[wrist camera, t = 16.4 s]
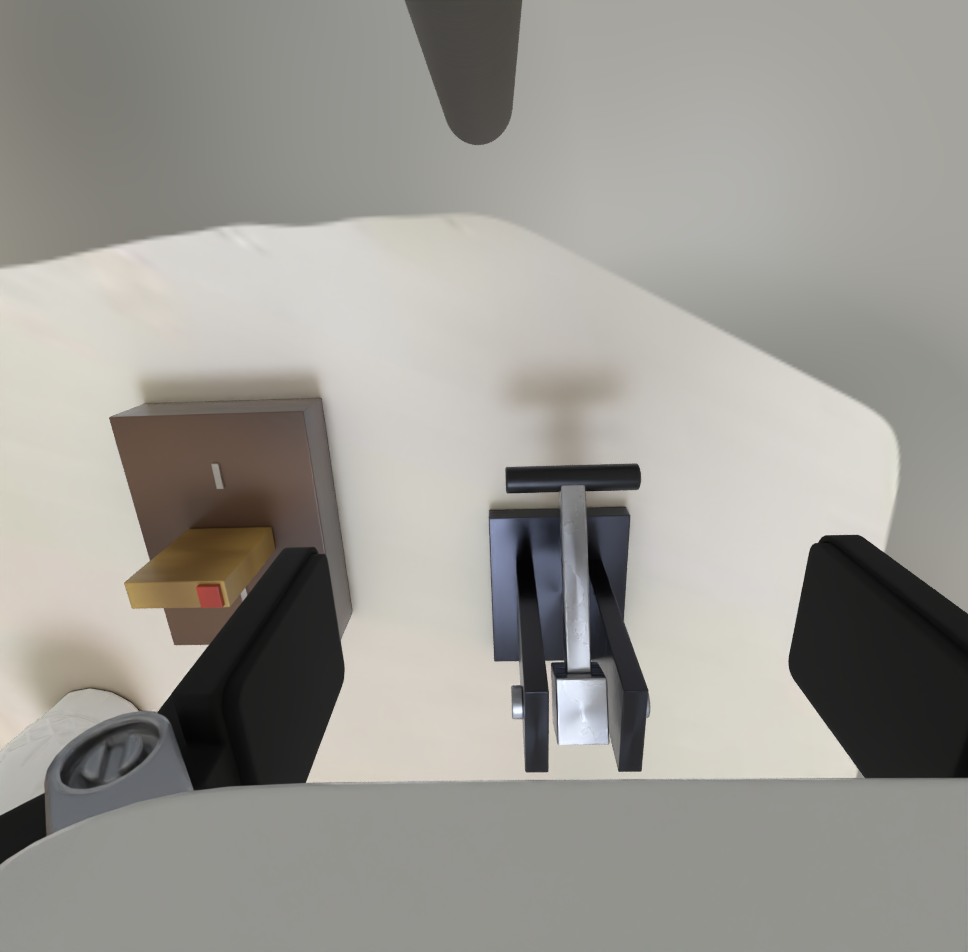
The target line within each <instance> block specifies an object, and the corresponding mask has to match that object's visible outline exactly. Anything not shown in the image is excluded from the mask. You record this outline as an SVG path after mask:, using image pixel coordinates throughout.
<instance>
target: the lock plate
mask: <svg viewBox="0 0 968 952" xmlns="http://www.w3.org/2000/svg"><path fill="white" fill-rule="evenodd" d="M109 419H110V423H111V426H112V430H113V433H114V437H115V440H116V444H117V447H118V451H119V454H120V458H121V461H122V465H123V468H124V472H125V475H126V478H127V482H128V485H129V489H130V492H131V496H132V499H133V503H134V506H135V510H136V513H137V517H138V520H139V524H140V527H141V531H142V534H143V538H144V541H145V545H146V548H147V552H148V555H149V558H150V561H151V560H152V559H153V558H154V557H155V556H157V555H158V554H159V553H160V552H161V551H163V550H164V549H165V548H166V547H167V546H169V545H170V544H171V543H172V542H173V541H175V540H176V539H177V538H178V537H179V536H181V535H182V534H183V533H184V532H185V531H187V530H188V529H206V528H253V527H271V528H272V533H273V538H274V544H275V551H274V552H273V553H272V555H271V556H270V557H269V558H268V560H267V561H266V562H265V564H264V565H263V566H262V567H261V569H260V570H259V571H258V572H257V574H256V575H255V576H254V577H253V579H252V580H251V581H250V582H249V584H248V585H247V586H246V587H245V589H244V590H243V591H242V592H241V594H240V595H239V596H238V597H237V599H236V600H235V601H234V602H233V604H232V605H231V606H230V607H222V608H201V607H198V608H164V611H165V614H166V618H167V621H168V625H169V628H170V632H171V635H172V638H173V642H174V645H209V644H210V643H211V642H212V641H213V639H214V638H215V637H216V635H217V634H218V633H219V632H220V630H221V629H222V628H223V626H224V625H225V624H226V622H227V621H228V620H229V619H230V617H231V616H232V615H233V613H234V612H235V611H236V609H237V608H238V607H239V606H240V604H241V603H242V602H243V600H244V599H245V598H246V597H247V595H248V594H249V593H250V591H251V590H252V589H253V587H254V586H255V585H256V584H257V582H258V581H259V580H260V578H261V577H262V576H263V574H264V573H265V572H266V571H267V569H268V568H269V567H270V565H271V564H272V563H273V561H274V560H275V559H276V558H277V556H278V555H279V554H280V552H281V551H282V550H283V549H284V548H288V547H315V548H316V549H317V551H318V553H319V554H325V555H326V556H327V559H328V564H329V570H330V577H331V583H332V590H333V596H334V602H335V609H336V615H337V621H338V628H339V634H340V640H341V638H342V636H343V633H344V631H345V629H346V626H347V624H348V622H349V619H350V617H351V615H352V608H351V601H350V594H349V587H348V580H347V573H346V566H345V560H344V553H343V546H342V539H341V532H340V525H339V518H338V511H337V504H336V497H335V490H334V484H333V477H332V470H331V463H330V456H329V449H328V442H327V435H326V428H325V421H324V415H323V408H322V401H321V398H309V399H278V400H247V401H216V402H185V403H154V404H143V405H140V406H137V407H135V408H132V409H130V410H127V411H124V412H122V413H119V414H116V415H114V416H111V417H109Z"/></svg>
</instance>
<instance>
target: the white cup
mask: <svg viewBox="0 0 968 952" xmlns="http://www.w3.org/2000/svg"><path fill="white" fill-rule="evenodd" d="M137 711H139V710H138V709H137V708H136V707H135V706H134V705H133V704H132V703H131V702H129V701H127V700H125V699H124V698H122V697H120V696H118V695H116V694H114V693H112V692H107V691H102V690H96V689H84V690H79V691H74V692H70V693H68V694H67V695H66V696H65V697H63V698H62V699H61V700H60V701H59V702H57V703H56V704H55V705H54V706H53V707H52V708H51V709H49V710H48V711H47V712H46V713H45V714H44V715H43V716H42V717H41V718H39V719H38V720H37V721H36V722H34V723H32V724H30V725H29V726H27V727H26V728H25V729H24V730H23V731H22V732H21V733H20V734H19V735H18V736H16V737H15V738H14V739H13V740H11V741H10V742H9V743H7V744H6V745H5V746H4V747H3V748H2V749H1V750H0V815H2V814H4V813H6V812H8V811H10V810H12V809H14V808H16V807H18V806H19V805H21V804H23V803H25V802H27V801H29V800H31V799H33V798H35V797H37V796H39V795H41V794H43V793H45V789H44V781H45V776H46V772H47V769H48V767H49V766H50V764H51V762H52V761H53V759H54V758H55V756H56V755H57V754H58V753H59V752H60V751H61V750H62V749H63V748H64V747H65V746H66V745H67V744H68V743H69V742H70V741H71V740H73V739H74V738H76V737H77V736H78V735H80V734H81V733H83V732H84V731H86V730H87V729H89V728H91V727H93V726H95V725H97V724H99V723H101V722H103V721H104V720H107V719H110V718H113V717H116V716H119V715H122V714H125V713H131V712H137Z"/></svg>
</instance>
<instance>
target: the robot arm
mask: <svg viewBox="0 0 968 952" xmlns="http://www.w3.org/2000/svg"><path fill="white" fill-rule="evenodd" d="M788 662H789V669H790V673H791V675H792V677H793V679H794V681H795V682H796V683H797V685H798V686H799V687H800V689H801V690H802V692H803V693H804V694H805V696H806V697H807V699H808V700H809V701H810V703H811V704H812V705H813V707H814V708H815V710H816V711H817V712H818V714H819V715H820V717H821V718H822V719H823V721H824V722H825V723H826V725H827V726H828V728H829V729H830V730H831V732H832V733H833V734H834V736H835V737H836V739H837V740H838V741H839V743H840V744H841V746H842V747H843V748H844V750H845V751H846V752H847V754H848V755H849V757H850V758H851V759H852V761H853V762H854V764H855V765H856V766H857V768H858V769H859V770H860V772H861V773H862V775H863V776H864V777H865V778H783V779H623V780H489V781H408V782H327V783H306V781H307V778H308V775H309V773H310V770H311V767H312V765H313V762H314V759H315V757H316V754H317V751H318V749H319V746H320V743H321V741H322V738H323V735H324V733H325V730H326V727H327V725H328V722H329V719H330V717H331V714H332V711H333V709H334V706H335V703H336V701H337V698H338V695H339V693H340V690H341V687H342V684H343V680H344V671H345V668H344V660H343V653H342V647H341V640H340V634H339V628H338V621H337V615H336V609H335V602H334V596H333V590H332V583H331V577H330V570H329V564H328V559H327V556H326V555H325V554H319V553H318V551H317V549H316V548H315V547H288V548H284V549H283V550H282V551H281V552H280V554H279V555H278V556H277V558H276V559H275V560H274V561H273V563H272V564H271V565H270V567H269V568H268V569H267V571H266V572H265V573H264V574H263V576H262V577H261V578H260V580H259V581H258V582H257V584H256V585H255V586H254V587H253V589H252V590H251V591H250V593H249V594H248V595H247V597H246V598H245V599H244V600H243V602H242V603H241V604H240V606H239V607H238V608H237V609H236V611H235V612H234V613H233V615H232V616H231V617H230V619H229V620H228V621H227V622H226V624H225V625H224V626H223V628H222V629H221V630H220V632H219V633H218V634H217V635H216V637H215V638H214V639H213V641H212V642H211V643H210V644H209V646H208V647H207V648H206V650H205V651H204V652H203V654H202V655H201V656H200V657H199V659H198V660H197V661H196V663H195V664H194V665H193V667H192V668H191V669H190V670H189V672H188V673H187V674H186V676H185V677H184V678H183V679H182V681H181V682H180V683H179V685H178V686H177V687H176V689H175V690H174V691H173V692H172V694H171V695H170V697H169V698H168V699H167V701H166V702H165V703H164V704H163V706H162V707H161V708H160V710H159V711H158V712H157V713H156V712H149V711H137V712H131V713H125V714H122V715H119V716H116V717H113V718H110V719H107V720H104V721H103V722H101V723H99V724H97V725H95V726H93V727H91V728H89V729H87V730H86V731H84V732H83V733H81V734H80V735H78V736H77V737H76V738H74V739H73V740H71V741H70V742H69V743H68V744H67V745H66V746H65V747H64V748H63V749H62V750H61V751H60V752H59V753H58V754H57V755H56V756H55V758H54V759H53V761H52V762H51V764H50V766H49V767H48V769H47V772H46V776H45V781H44V789H45V793H43V794H41V795H39V796H37V797H35V798H33V799H31V800H29V801H27V802H25V803H23V804H21V805H19V806H18V807H16V808H14V809H12V810H10V811H8V812H6V813H4V814H2V815H0V952H968V614H967V613H966V612H965V611H963V610H962V609H960V608H959V607H958V606H956V605H955V604H954V603H952V602H951V601H950V600H948V599H947V598H945V597H944V596H943V595H941V594H940V593H939V592H937V591H936V590H934V589H933V588H932V587H930V586H929V585H928V584H926V583H925V582H924V581H922V580H920V579H919V578H918V577H917V576H915V575H914V574H912V573H911V572H910V571H908V570H907V569H906V568H904V567H903V566H902V565H900V564H899V563H897V562H896V561H894V560H893V559H892V558H891V557H889V556H888V555H887V554H885V553H884V552H882V551H881V550H880V549H878V548H877V547H876V546H874V545H873V544H872V543H870V542H869V541H867V540H866V539H865V538H863V537H862V536H859V535H826V536H824V537H822V538H821V539H820V541H819V542H818V543H815V544H813V545H812V546H811V548H810V551H809V556H808V561H807V566H806V571H805V577H804V582H803V587H802V592H801V597H800V602H799V607H798V613H797V618H796V623H795V628H794V633H793V638H792V643H791V649H790V654H789V661H788Z"/></svg>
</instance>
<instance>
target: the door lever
mask: <svg viewBox="0 0 968 952" xmlns="http://www.w3.org/2000/svg"><path fill="white" fill-rule="evenodd" d="M640 484H641V472H640V468H639V465H638V464H602V465H565V466H529V467H506V492H507V493H538V492H559V508H560V540H561V573H562V605H563V637H564V662H555V663H551V678H552V712H553V725H554V729H555V734H556V738H557V743H558V745H596V744H609V717H608V688H607V678H606V676H605V674H604V673H603V671H602V669H601V667H600V666H599V664H598V662H591V640H590V610H589V580H588V549H587V519H586V491H617V490H638V489H639V487H640Z"/></svg>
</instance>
